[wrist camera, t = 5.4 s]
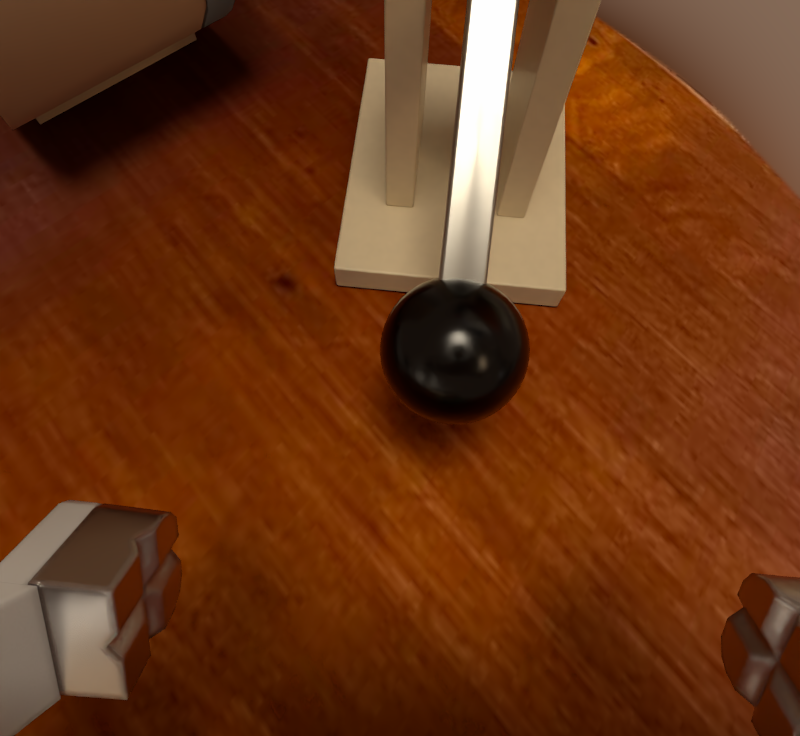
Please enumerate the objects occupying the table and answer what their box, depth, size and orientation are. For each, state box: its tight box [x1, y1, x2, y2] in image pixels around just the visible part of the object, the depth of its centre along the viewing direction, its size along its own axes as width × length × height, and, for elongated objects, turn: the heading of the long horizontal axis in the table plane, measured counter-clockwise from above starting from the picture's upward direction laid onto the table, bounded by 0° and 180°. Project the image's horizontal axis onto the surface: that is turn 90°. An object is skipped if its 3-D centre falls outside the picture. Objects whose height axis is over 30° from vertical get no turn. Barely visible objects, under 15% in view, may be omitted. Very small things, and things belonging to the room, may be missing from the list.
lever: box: [380, 0, 530, 425], centre depth 13 cm, size 14×4×4 cm, turn 175°
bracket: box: [334, 0, 601, 306], centre depth 17 cm, size 10×8×13 cm
